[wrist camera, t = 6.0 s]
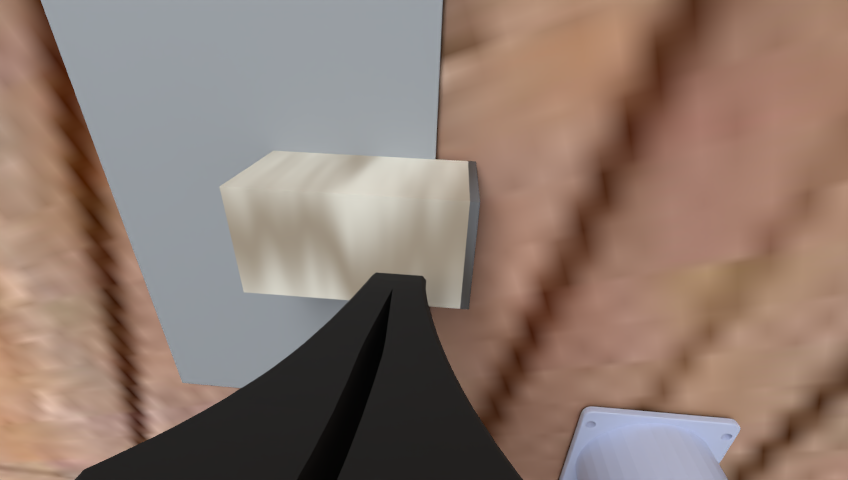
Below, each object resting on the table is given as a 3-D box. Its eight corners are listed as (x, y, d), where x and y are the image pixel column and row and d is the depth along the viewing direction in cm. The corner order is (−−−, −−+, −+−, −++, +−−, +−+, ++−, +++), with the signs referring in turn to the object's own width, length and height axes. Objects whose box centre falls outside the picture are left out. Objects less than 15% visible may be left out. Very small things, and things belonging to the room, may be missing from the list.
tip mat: (424, 400, 22) (424, 404, 22) (185, 378, 23) (182, 382, 23) (452, -201, 11) (451, -207, 11) (-26, -202, 12) (-37, -208, 11)
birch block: (468, 309, 14) (243, 292, 14) (467, 251, 17) (287, 239, 18) (480, 202, 12) (219, 186, 12) (475, 161, 15) (273, 150, 16)
